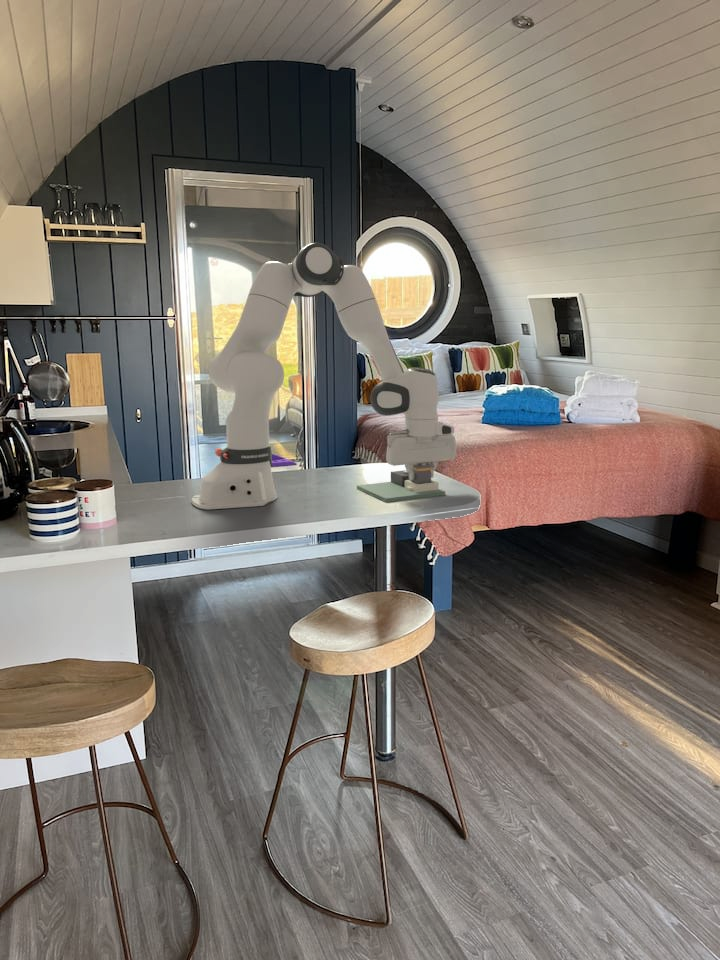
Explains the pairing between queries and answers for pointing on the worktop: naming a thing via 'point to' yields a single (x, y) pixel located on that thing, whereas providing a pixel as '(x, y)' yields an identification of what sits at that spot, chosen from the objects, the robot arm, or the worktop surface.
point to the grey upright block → (422, 473)
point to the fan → (399, 477)
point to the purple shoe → (281, 461)
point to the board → (395, 492)
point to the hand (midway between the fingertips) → (421, 478)
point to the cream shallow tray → (421, 486)
